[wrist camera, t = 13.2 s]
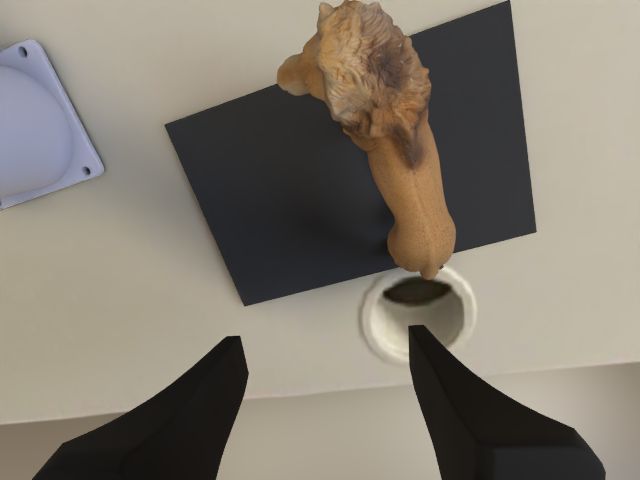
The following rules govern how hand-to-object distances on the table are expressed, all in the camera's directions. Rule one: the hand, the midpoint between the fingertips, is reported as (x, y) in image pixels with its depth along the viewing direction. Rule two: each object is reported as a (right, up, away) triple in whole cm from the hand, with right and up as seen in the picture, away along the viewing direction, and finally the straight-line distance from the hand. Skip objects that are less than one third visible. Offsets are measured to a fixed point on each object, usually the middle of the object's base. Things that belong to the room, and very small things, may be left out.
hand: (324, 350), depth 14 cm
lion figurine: (+4, +9, +6) cm, 12 cm away
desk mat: (+2, +9, +7) cm, 11 cm away
